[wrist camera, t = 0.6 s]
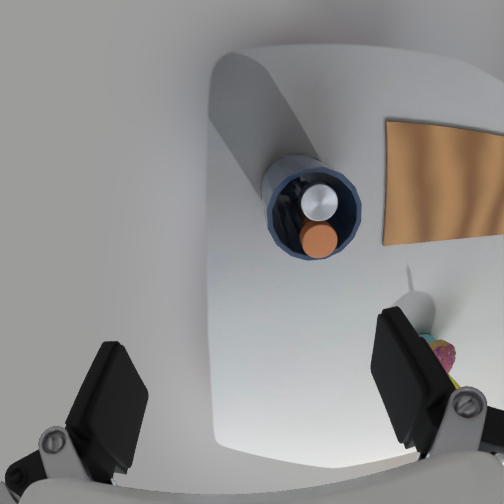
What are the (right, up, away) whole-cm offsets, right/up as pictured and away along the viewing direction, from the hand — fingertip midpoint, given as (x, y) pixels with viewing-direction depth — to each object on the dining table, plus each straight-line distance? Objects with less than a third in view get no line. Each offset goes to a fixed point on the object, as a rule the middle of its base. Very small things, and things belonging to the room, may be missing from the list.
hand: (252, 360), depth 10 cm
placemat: (+34, +13, +20) cm, 41 cm away
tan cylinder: (+5, +9, +20) cm, 22 cm away
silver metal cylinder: (+4, +11, +19) cm, 22 cm away
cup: (+4, +10, +20) cm, 23 cm away
